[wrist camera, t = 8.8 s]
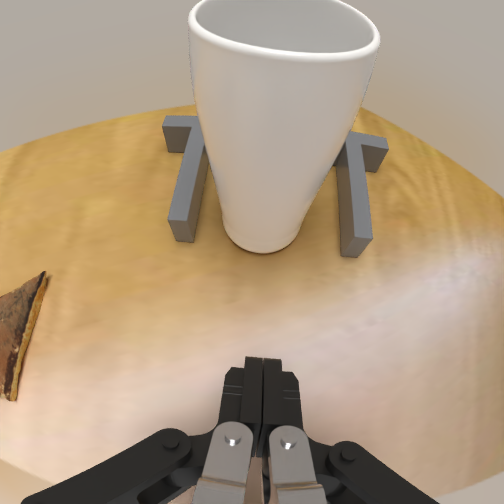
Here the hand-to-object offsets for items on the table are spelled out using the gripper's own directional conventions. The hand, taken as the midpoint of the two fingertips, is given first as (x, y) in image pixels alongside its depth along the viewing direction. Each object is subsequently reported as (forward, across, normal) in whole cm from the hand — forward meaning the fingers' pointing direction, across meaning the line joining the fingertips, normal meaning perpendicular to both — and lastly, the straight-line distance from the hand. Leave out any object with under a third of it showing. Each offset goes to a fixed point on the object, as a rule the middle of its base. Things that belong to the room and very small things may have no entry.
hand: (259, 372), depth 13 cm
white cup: (+11, 0, -3) cm, 12 cm away
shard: (+4, +20, +5) cm, 21 cm away
